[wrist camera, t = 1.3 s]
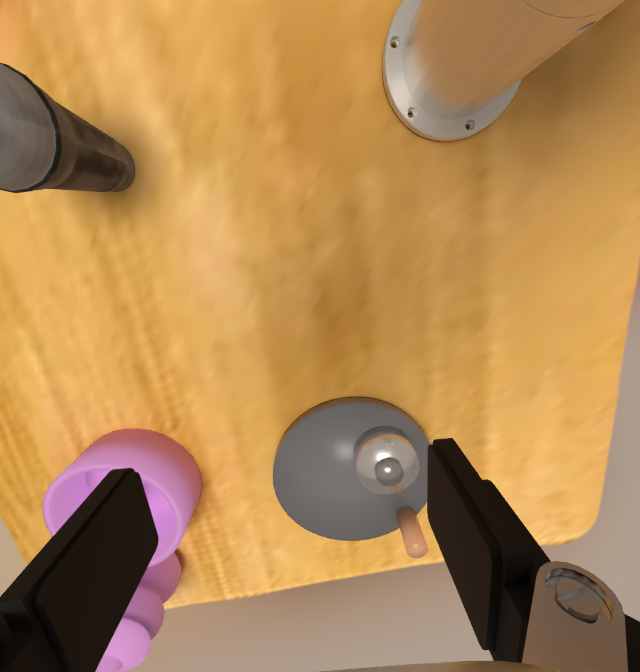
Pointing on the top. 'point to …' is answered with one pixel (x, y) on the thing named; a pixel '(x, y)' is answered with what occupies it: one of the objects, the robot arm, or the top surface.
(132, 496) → the robot arm
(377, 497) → the grey domed disc
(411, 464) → the cover
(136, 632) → the container set
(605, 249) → the top surface
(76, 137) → the beverage cup
